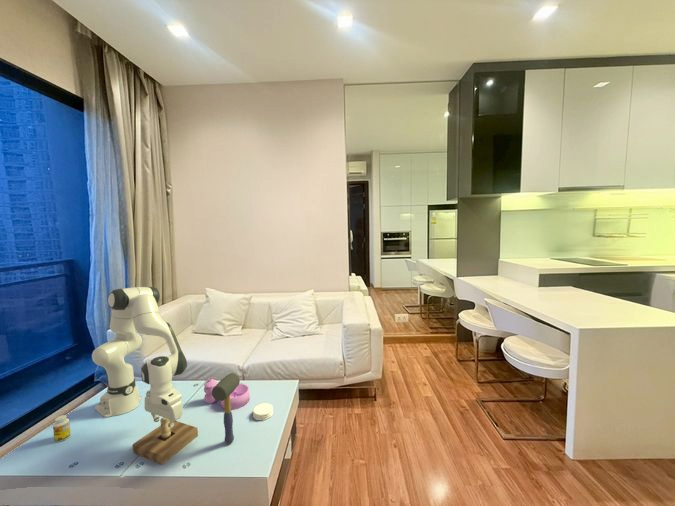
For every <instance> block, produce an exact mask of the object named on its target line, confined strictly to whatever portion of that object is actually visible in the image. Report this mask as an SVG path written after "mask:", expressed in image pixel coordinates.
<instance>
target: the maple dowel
mask: <svg viewBox="0 0 675 506" xmlns="http://www.w3.org/2000/svg"><path fill="white" fill-rule="evenodd" d="M159 419H160V420H159V421H160V426H161V435H162V436H161V437H162V441H166V440H167V439H169V438H170V437H171V429H170V427H168V423H170V421H169V419H167V418H164V417H162V418H159Z"/></svg>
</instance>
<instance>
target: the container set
mask: <svg viewBox="0 0 675 506" xmlns="http://www.w3.org/2000/svg"><path fill="white" fill-rule="evenodd" d="M217 384H218V381H217V380H216V379H213V377H208V379H207V380H206V381H205V382H204V384H203V386H204V388H203V392H204V393H205V394H204V398H203V399H204V400H203V401H205V403H207V404H208V403H211V404H214V403H216V402H218V401H217V400H215V399H214V398H213V396H212V390H213V388H214V387H215V386H216V385H217ZM250 398H251V397H250V387H249V385H248V384H245V383H239V385H238V386H237V388H236V389H235V390H234V391H233V392H232V393H231V394H230V405H231V411H233V410H239V409H241V408H244V407H245V406H246V405H248V403H249V402H250ZM219 403H220V407H221V408H222V410H225V407H224V400H223V401H219Z"/></svg>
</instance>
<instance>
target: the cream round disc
mask: <svg viewBox="0 0 675 506" xmlns="http://www.w3.org/2000/svg"><path fill="white" fill-rule="evenodd" d="M252 415H253V416H252V417H253V419H254V420H256V421H259V422H261V421H266V420H268V419H270V418H271V417H272V416H273V415H274V407H273V405H272V404H271V403H267V402H264V403H260V404H257V405H256V406H255V407H254V408H253V410H252Z"/></svg>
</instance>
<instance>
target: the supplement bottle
mask: <svg viewBox="0 0 675 506" xmlns="http://www.w3.org/2000/svg"><path fill="white" fill-rule="evenodd" d="M52 430H53V431H52V432H53V439H54V442H56V443H58V442H62V441H65V440H67V439H69V438H70V437H71V434H72V433H71V425H70V419H69V418H67V415H66V414H62V415H59V416H56V418H54V423H53V424H52Z"/></svg>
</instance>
